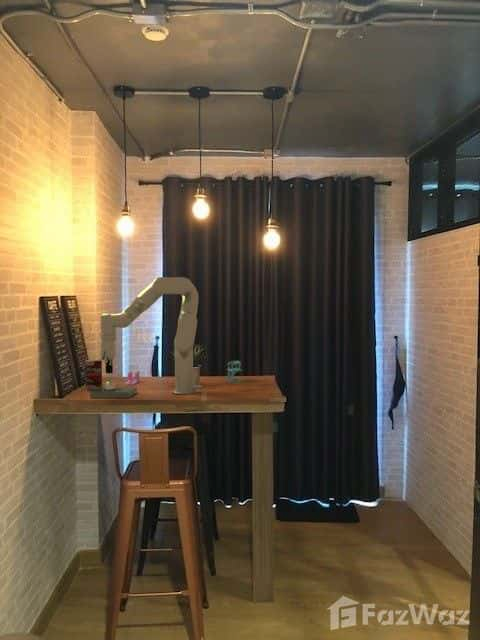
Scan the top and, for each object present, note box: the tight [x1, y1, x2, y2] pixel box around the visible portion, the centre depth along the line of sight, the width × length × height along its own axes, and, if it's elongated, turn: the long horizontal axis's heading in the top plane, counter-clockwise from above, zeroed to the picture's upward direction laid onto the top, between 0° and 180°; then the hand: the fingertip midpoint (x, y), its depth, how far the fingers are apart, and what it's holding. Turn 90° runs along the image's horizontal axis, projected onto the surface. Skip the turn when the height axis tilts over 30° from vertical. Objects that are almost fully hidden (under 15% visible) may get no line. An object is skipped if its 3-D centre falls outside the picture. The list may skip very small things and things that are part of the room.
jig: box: [89, 386, 138, 399], centre depth 265 cm, size 20×14×3 cm
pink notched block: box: [124, 370, 140, 387], centre depth 297 cm, size 13×6×7 cm, turn 177°
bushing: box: [104, 380, 116, 391], centre depth 265 cm, size 5×5×7 cm
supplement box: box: [85, 359, 103, 391], centre depth 283 cm, size 9×5×16 cm, turn 105°
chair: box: [226, 360, 244, 383], centre depth 302 cm, size 8×8×12 cm
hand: (109, 373), depth 264 cm, fingers closed
